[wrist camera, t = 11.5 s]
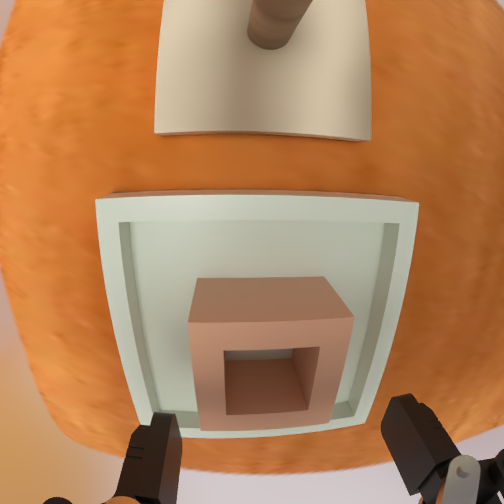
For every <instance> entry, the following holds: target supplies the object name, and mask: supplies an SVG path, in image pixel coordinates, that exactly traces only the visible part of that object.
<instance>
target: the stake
mask: <svg viewBox="0 0 504 504" xmlns="http://www.w3.org/2000/svg"><path fill="white" fill-rule="evenodd" d="M154 133H155V134H158V135H161V136H167V135H189V134H263V135H286V136H302V137H315V138H327V139H337V140H346V141H355V142H363V141H371V134H372V91H371V63H370V46H369V33H368V22H367V13H366V4H365V0H164V5H163V12H162V20H161V29H160V39H159V50H158V62H157V76H156V94H155V123H154Z"/></svg>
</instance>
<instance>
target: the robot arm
mask: <svg viewBox="0 0 504 504" xmlns="http://www.w3.org/2000/svg"><path fill="white" fill-rule="evenodd" d="M381 433H382V436H383V438H384V440H385V442H386V444H387V447H388V449H389V451H390V453H391V455H392V457H393V459H394V462H395V464H396V466H397V468H398V470H399V472H400V475H401V477H402V479H403V481H404V483H405V485H406V488H407V490H408V492H409V494H410V496H411V495H414V494H417V493H419V492H420V493H421V495H422V497H421V498H420V500H419V503H418V504H502V503H501V501H500V499H499V497H498V495H497V493H498V492H499V491H500V492H501V494H502V496H503V498H504V449H503V450H501V451H500V452H499V453H498V455H497V456H496V457H495V458H492V459H486V460H480V461H477V460H476V459H475V458H473V457H471V456H468V455H461V453H460V452H459V451H458V449H457V447H456V446H455V444H454V443H453V441H452V440H451V438H450V436H449V435H448V433H447V432H446V430H445V429H444V428H443V427H442V424H441V423H440V421H438V418H437V417H436V415H435V414H434V412H433V411H432V410H431V409H430V408H429V407H427V406H426V405H425V404H423V403H418V402H417V400H416V399H415V397H414V396H413V395H412V394H410V393H408V394H404V395H400V396H396V397H392V398H391V400H390V402H389V405H388V407H387V410H386V412H385V415H384V417H383V420H382V422H381ZM128 447H129V448H128V449H127V452H126V458H125V460H124V463H123V467H122V471H121V474H120V478H119V482H118V486H117V490H116V492H115V494H114V496H113V497H112V498H111V499H109V500H108V501H107V502H105V503H102V504H176V500H177V491H178V482H179V473H180V465H181V457H182V438H181V434H180V430H179V426H178V422H177V418H176V415H175V414H174V413H161V412H154V413H153V416H152V419H151V423H150V426H149V425H139V426H138V428H137V429H136V430H135V431H134V432H133V433H132V435H131V438H130V442H129V445H128ZM43 504H72V503H71V502H70V501H69V500H67V499H64V498H60V497H53V498H50V499H48V500H46V501H45V502H44V503H43Z"/></svg>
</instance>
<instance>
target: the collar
mask: <svg viewBox="0 0 504 504" xmlns="http://www.w3.org/2000/svg"><path fill="white" fill-rule="evenodd" d="M354 318H355V317H354V315H353V314H352V313H351V311H350V310H349V309H348V307H347V306H346V305H345V303H344V302H343V301H342V299H341V298H340V297H339V295H338V294H337V293H336V291H335V290H334V289H333V287H332V286H331V285H330V283H329V282H328V281H327V279H326V278H325V277H324V276H320V277H268V278H197V282H196V286H195V291H194V295H193V300H192V304H191V309H190V313H189V318H188V332H189V343H190V352H191V362H192V370H193V379H194V387H195V395H196V402H197V409H198V416H199V423H200V430H201V431H251V430H269V429H282V428H293V427H302V426H311V425H319V424H326V423H329V422H330V418H331V415H332V411H333V408H334V404H335V400H336V397H337V393H338V389H339V385H340V381H341V377H342V373H343V369H344V365H345V361H346V356H347V352H348V348H349V343H350V338H351V333H352V328H353V323H354ZM289 348H293V354H292V358H287V359H267V360H233V361H225V351H229V350H268V349H289Z"/></svg>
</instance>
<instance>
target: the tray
mask: <svg viewBox="0 0 504 504" xmlns="http://www.w3.org/2000/svg"><path fill="white" fill-rule="evenodd" d="M95 204H96V216H97V227H98V237H99V246H100V254H101V261H102V268H103V275H104V281H105V287H106V293H107V299H108V304H109V309H110V314H111V319H112V324H113V329H114V333H115V337H116V342H117V346H118V350H119V354H120V358H121V362H122V366H123V369H124V373H125V377H126V380H127V384H128V387H129V390H130V394H131V397H132V400H133V403H134V406H135V409H136V412H137V415H138V418H139V421H140V424H141V425H149V426H150V423H151V419H152V416H153V413H154V412H161V413H174V414H175V415H176V418H177V422H178V426H179V430H180V434H181V437H187V438H250V437H268V436H281V435H291V434H301V433H309V432H317V431H324V430H330V429H336V428H342V427H348V426H353V425H358V424H363V423H365V422H366V419H367V417H368V414H369V412H370V409H371V406H372V404H373V401H374V398H375V395H376V393H377V390H378V387H379V384H380V381H381V378H382V375H383V372H384V369H385V366H386V363H387V359H388V356H389V353H390V349H391V346H392V342H393V339H394V335H395V331H396V328H397V324H398V320H399V316H400V312H401V308H402V303H403V299H404V295H405V290H406V285H407V280H408V275H409V270H410V265H411V259H412V253H413V247H414V240H415V234H416V226H417V219H418V210H419V203H418V202H415V201H412V200H409V199H405V198H402V197H399V196H388V195H375V194H361V193H344V192H325V191H300V190H258V189H205V190H163V191H139V192H120V193H111V194H108V195H105V196H102V197H100V198H97V199H95ZM320 276H324V277H325V278H326V279H327V281H328V282H329V283H330V285H331V286H332V287H333V289H334V290H335V291H336V293H337V294H338V295H339V297H340V298H341V299H342V301H343V302H344V303H345V305H346V306H347V307H348V309H349V310H350V311H351V313H352V314H353V315H354V317H355V318H354V323H353V328H352V333H351V338H350V343H349V348H348V352H347V356H346V361H345V365H344V369H343V373H342V377H341V381H340V385H339V389H338V393H337V397H336V400H335V404H334V408H333V411H332V415H331V418H330V422H329V423H326V424H319V425H311V426H302V427H293V428H282V429H269V430H251V431H201V430H200V423H199V416H198V409H197V402H196V395H195V387H194V379H193V370H192V362H191V352H190V343H189V332H188V318H189V313H190V309H191V304H192V300H193V295H194V291H195V286H196V282H197V278H268V277H320ZM292 354H293V348H289V349H268V350H229V351H225V361H233V360H267V359H287V358H292Z"/></svg>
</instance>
